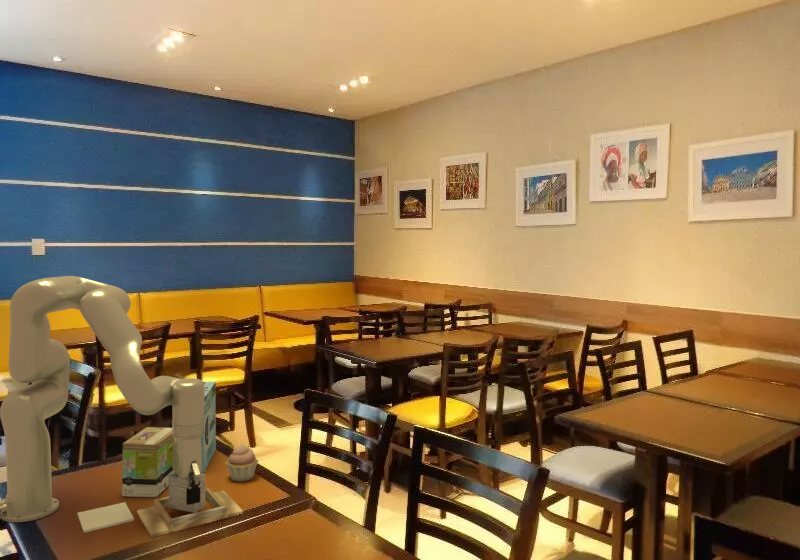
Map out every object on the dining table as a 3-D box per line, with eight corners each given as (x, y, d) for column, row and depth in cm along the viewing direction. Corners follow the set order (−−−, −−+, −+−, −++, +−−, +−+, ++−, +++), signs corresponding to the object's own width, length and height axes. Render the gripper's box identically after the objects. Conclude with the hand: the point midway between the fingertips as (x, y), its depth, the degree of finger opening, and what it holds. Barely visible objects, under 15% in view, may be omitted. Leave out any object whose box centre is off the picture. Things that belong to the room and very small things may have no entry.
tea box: (158, 498, 161) (157, 443, 160) (121, 497, 161) (120, 443, 160) (180, 476, 176) (179, 426, 175) (146, 475, 176) (145, 425, 175)
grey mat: (83, 532, 142) (83, 530, 141) (77, 515, 151) (77, 512, 150) (134, 520, 148) (134, 518, 148) (125, 504, 157) (125, 502, 157)
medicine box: (205, 506, 153) (206, 473, 152) (194, 514, 149) (195, 479, 148) (179, 501, 155) (179, 468, 155) (167, 508, 151) (168, 474, 150)
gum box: (201, 450, 197) (200, 381, 195) (217, 450, 198) (216, 381, 196) (187, 473, 178) (186, 397, 176) (205, 473, 178) (204, 397, 177)
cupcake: (257, 470, 181) (257, 437, 180) (259, 482, 172) (259, 448, 171) (225, 473, 178) (225, 440, 178) (225, 485, 169) (225, 450, 169)
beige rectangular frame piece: (151, 538, 139) (151, 525, 139) (137, 513, 152) (136, 501, 152) (243, 514, 152) (243, 502, 152) (223, 493, 164) (223, 482, 164)
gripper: (163, 421, 156) (163, 487, 157) (182, 441, 141) (181, 513, 143) (193, 417, 160) (192, 481, 161) (214, 436, 146) (213, 505, 147)
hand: (187, 496), depth 152 cm, fingers closed on medicine box, 9 cm apart
